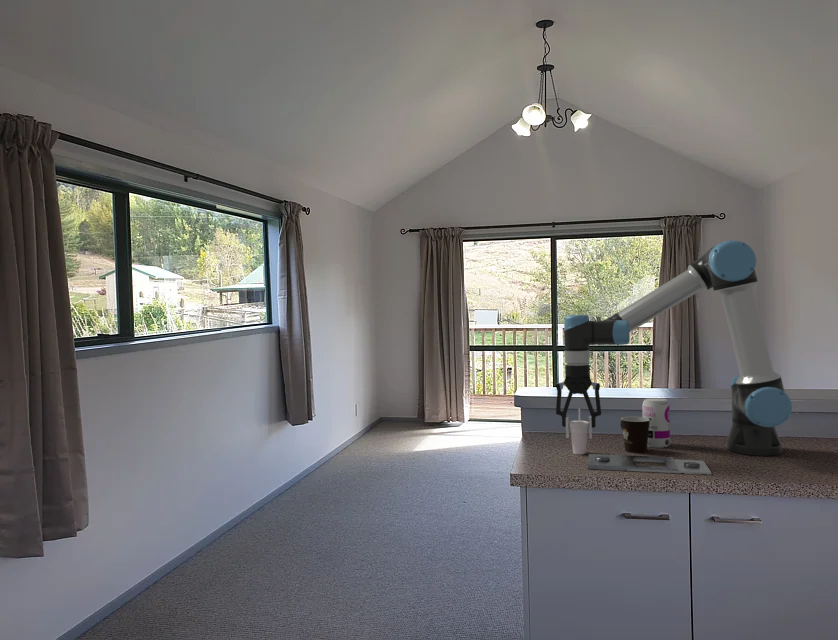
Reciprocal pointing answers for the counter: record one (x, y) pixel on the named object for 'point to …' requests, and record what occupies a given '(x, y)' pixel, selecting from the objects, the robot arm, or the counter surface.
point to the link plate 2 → (680, 467)
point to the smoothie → (579, 435)
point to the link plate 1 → (627, 462)
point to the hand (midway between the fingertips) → (579, 437)
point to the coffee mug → (635, 433)
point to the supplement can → (657, 421)
